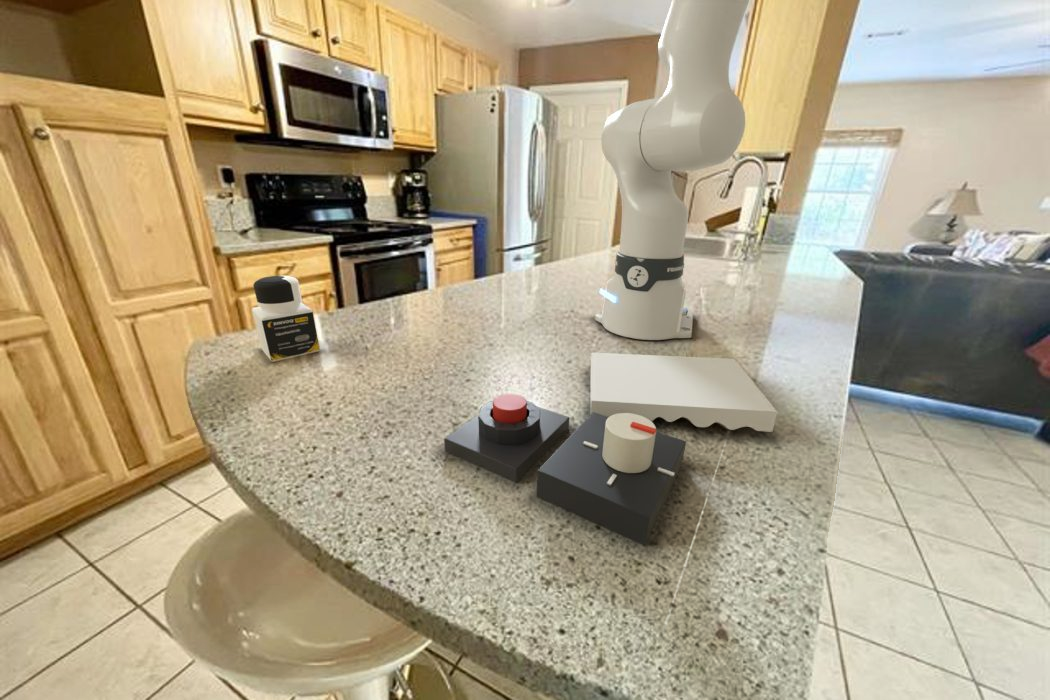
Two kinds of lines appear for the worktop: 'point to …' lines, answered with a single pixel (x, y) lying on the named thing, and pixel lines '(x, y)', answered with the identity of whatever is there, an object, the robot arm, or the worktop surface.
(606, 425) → the dial
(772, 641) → the worktop surface
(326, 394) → the worktop surface
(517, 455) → the box
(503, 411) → the power button
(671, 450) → the control panel
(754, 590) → the worktop surface
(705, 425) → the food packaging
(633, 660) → the worktop surface
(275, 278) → the medicine bottle
